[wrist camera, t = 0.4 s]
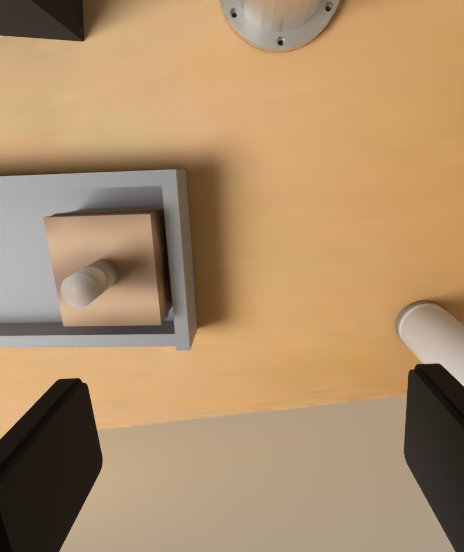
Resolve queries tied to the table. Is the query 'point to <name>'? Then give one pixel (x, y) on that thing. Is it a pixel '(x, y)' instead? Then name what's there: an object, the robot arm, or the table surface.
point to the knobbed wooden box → (110, 266)
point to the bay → (38, 268)
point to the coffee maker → (42, 19)
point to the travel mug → (433, 336)
